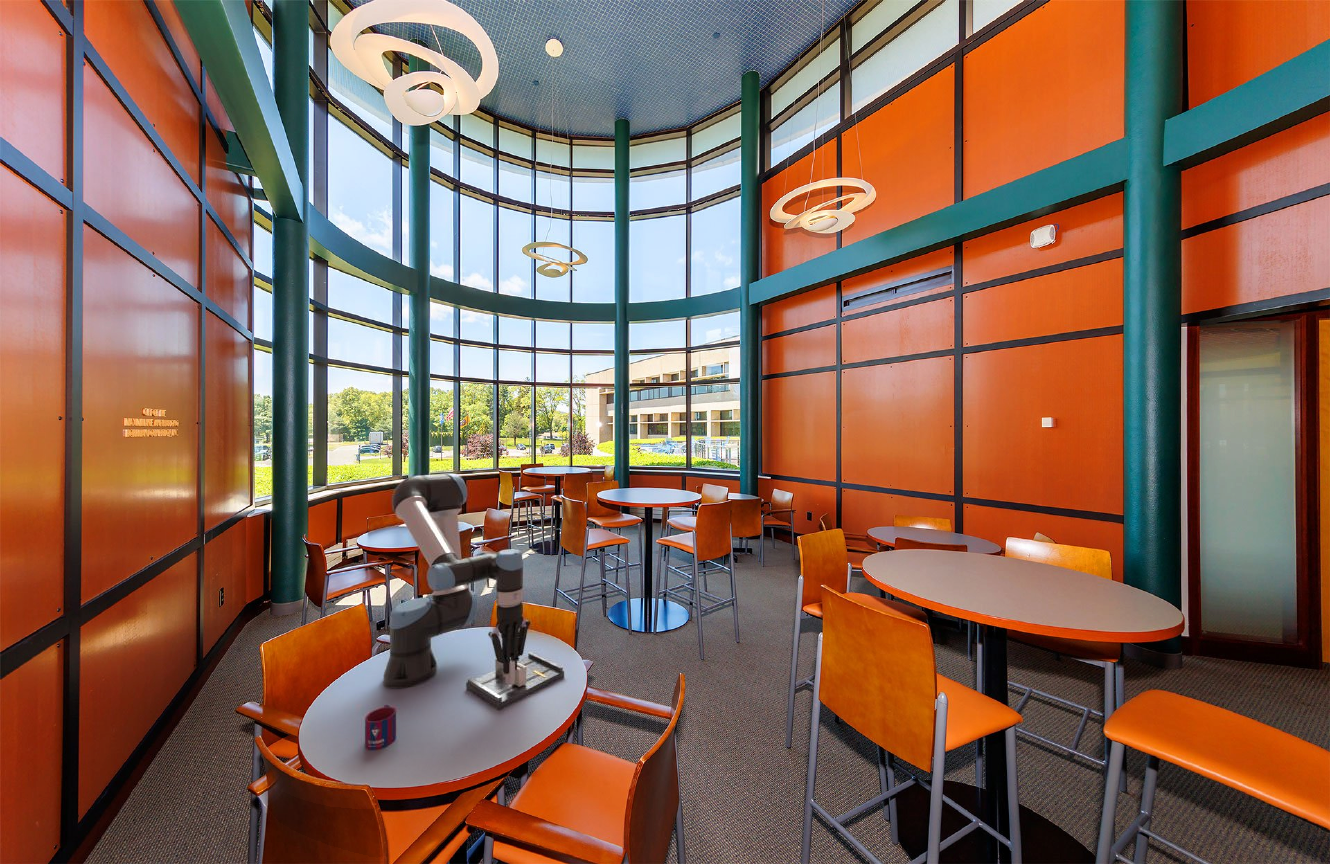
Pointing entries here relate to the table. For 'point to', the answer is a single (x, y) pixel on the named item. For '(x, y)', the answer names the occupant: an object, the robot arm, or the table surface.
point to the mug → (380, 728)
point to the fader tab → (520, 675)
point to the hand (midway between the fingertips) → (510, 682)
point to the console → (503, 694)
